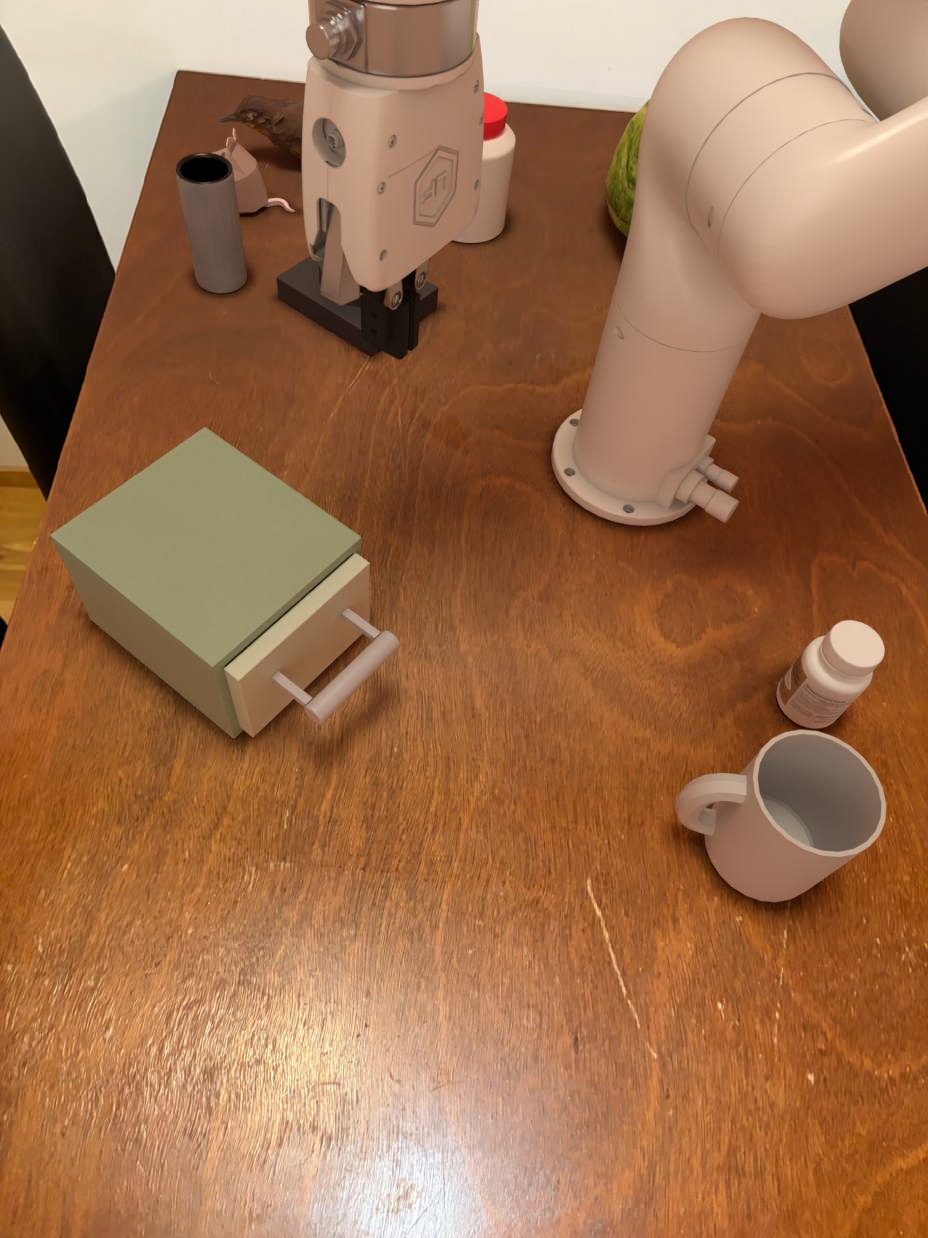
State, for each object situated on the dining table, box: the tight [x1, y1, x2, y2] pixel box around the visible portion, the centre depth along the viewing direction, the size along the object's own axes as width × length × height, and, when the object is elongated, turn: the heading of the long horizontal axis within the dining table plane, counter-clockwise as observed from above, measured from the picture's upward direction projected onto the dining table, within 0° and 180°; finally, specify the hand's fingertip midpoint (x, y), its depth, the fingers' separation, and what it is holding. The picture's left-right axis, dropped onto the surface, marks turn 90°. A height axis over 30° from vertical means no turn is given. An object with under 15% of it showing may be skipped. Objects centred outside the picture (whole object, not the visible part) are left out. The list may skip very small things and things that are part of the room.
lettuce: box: [603, 98, 650, 239], centre depth 86 cm, size 15×25×16 cm
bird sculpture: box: [216, 94, 304, 161], centre depth 90 cm, size 7×25×5 cm, turn 92°
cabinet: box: [49, 426, 363, 740], centre depth 57 cm, size 14×12×9 cm
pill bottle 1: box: [452, 91, 517, 244], centre depth 84 cm, size 8×8×11 cm
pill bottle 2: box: [776, 619, 886, 729], centre depth 58 cm, size 4×4×8 cm
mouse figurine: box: [212, 127, 296, 215], centre depth 84 cm, size 5×8×7 cm, turn 80°
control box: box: [275, 255, 439, 357], centre depth 78 cm, size 11×9×4 cm
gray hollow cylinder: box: [174, 152, 248, 294], centre depth 76 cm, size 4×4×10 cm
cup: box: [674, 729, 887, 903], centre depth 51 cm, size 7×10×9 cm
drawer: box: [224, 553, 401, 738], centre depth 56 cm, size 17×11×7 cm, turn 52°
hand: (389, 343), depth 55 cm, fingers closed
